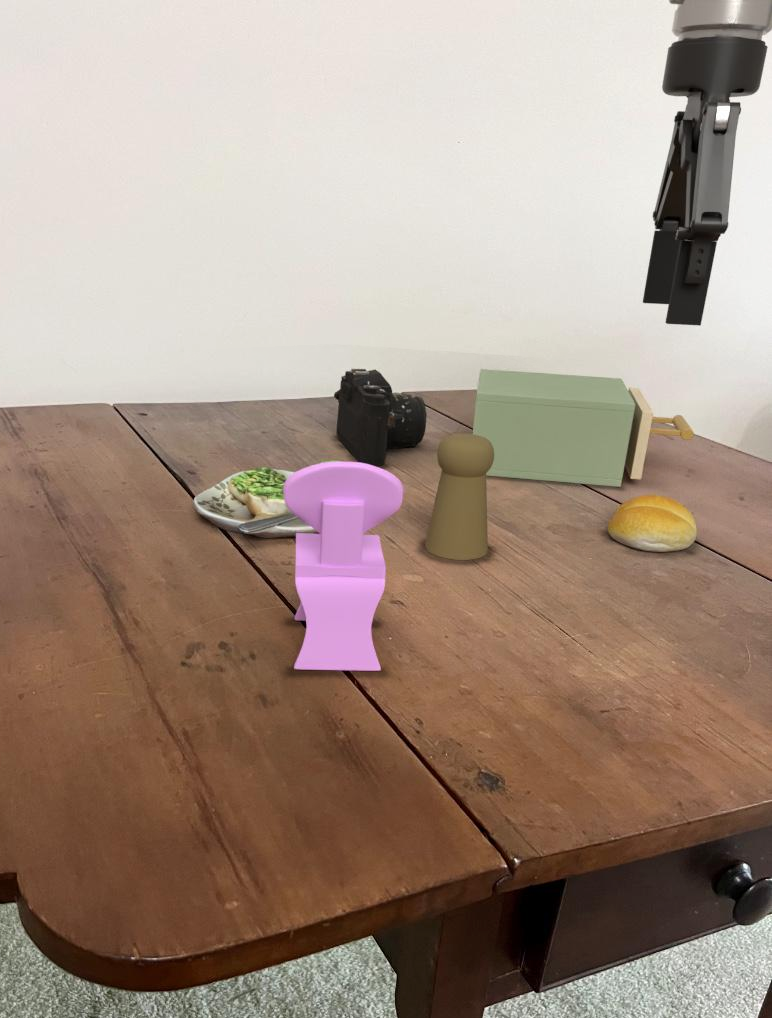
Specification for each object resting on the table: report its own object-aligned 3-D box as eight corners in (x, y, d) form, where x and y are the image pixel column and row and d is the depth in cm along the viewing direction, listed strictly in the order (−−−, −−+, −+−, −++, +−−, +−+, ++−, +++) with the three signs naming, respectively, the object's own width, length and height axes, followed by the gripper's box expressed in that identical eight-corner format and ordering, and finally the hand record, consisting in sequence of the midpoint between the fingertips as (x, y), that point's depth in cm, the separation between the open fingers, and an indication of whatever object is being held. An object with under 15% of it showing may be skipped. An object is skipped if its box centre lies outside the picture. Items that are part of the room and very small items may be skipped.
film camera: (457, 459, 116) (465, 380, 112) (376, 472, 110) (381, 388, 106) (379, 426, 130) (383, 354, 125) (302, 436, 124) (304, 361, 120)
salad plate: (319, 564, 84) (321, 517, 82) (155, 529, 90) (153, 484, 88) (395, 503, 100) (398, 462, 98) (251, 478, 106) (251, 439, 104)
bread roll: (601, 545, 90) (607, 507, 89) (617, 518, 98) (623, 482, 96) (689, 562, 87) (697, 522, 85) (699, 532, 94) (707, 495, 93)
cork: (487, 562, 85) (501, 447, 81) (422, 556, 86) (432, 442, 82) (488, 539, 91) (500, 430, 86) (427, 534, 92) (436, 425, 87)
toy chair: (384, 617, 74) (397, 435, 68) (394, 671, 66) (410, 471, 60) (282, 615, 74) (284, 432, 68) (279, 669, 66) (282, 467, 60)
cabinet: (608, 453, 121) (621, 378, 117) (620, 487, 108) (635, 404, 104) (472, 442, 124) (480, 368, 119) (468, 474, 110) (476, 392, 106)
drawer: (671, 452, 119) (684, 391, 115) (690, 483, 107) (704, 416, 103) (499, 438, 122) (506, 378, 119) (497, 467, 110) (505, 402, 107)
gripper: (647, 56, 85) (611, 294, 95) (700, 15, 63) (646, 332, 72) (732, 57, 84) (687, 298, 93) (816, 16, 62) (746, 337, 71)
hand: (669, 313), depth 83 cm, fingers open, 13 cm apart
